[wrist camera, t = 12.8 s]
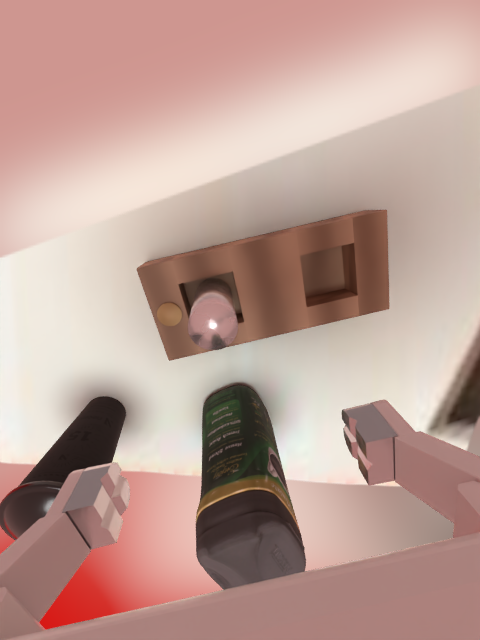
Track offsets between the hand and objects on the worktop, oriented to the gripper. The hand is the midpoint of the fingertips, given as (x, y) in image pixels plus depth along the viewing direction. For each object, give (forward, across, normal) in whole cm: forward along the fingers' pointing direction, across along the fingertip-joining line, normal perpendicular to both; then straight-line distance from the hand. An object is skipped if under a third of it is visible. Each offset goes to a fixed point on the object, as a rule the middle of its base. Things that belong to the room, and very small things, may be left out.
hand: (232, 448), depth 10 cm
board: (+23, -5, 0) cm, 24 cm away
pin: (+22, +1, 0) cm, 22 cm away
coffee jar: (+23, +2, +17) cm, 29 cm away
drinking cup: (+23, +18, +12) cm, 32 cm away
